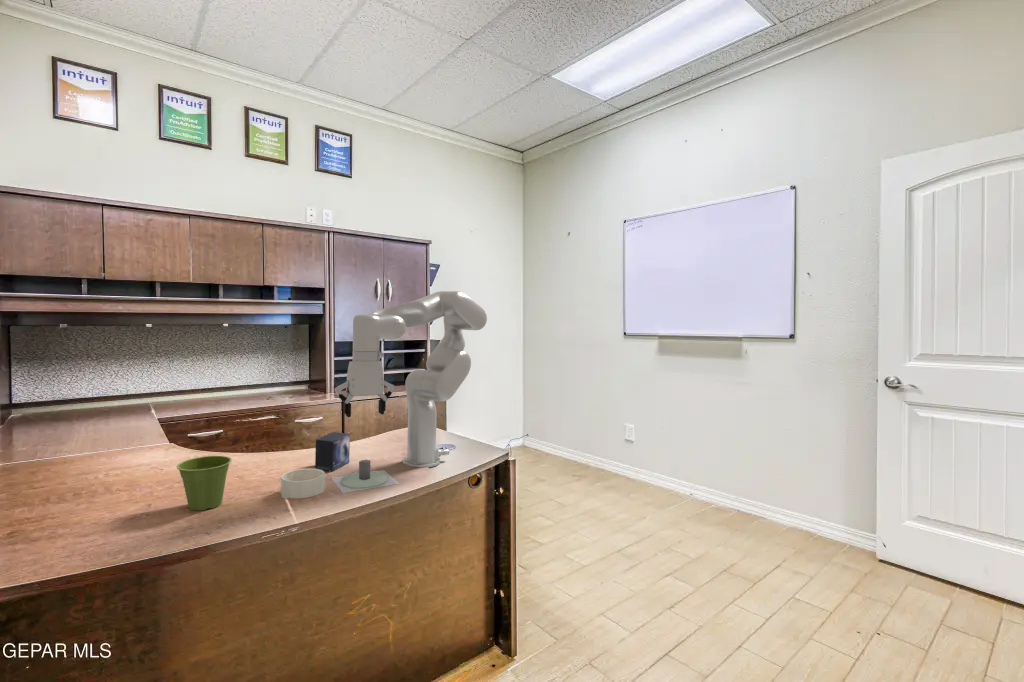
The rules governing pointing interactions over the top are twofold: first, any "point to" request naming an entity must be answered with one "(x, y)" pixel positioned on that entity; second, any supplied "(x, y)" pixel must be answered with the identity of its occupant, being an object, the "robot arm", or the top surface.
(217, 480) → the plant pot
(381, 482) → the lid
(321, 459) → the small box
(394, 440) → the top surface
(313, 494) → the bowl
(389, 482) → the mat
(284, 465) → the top surface
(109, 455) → the top surface
